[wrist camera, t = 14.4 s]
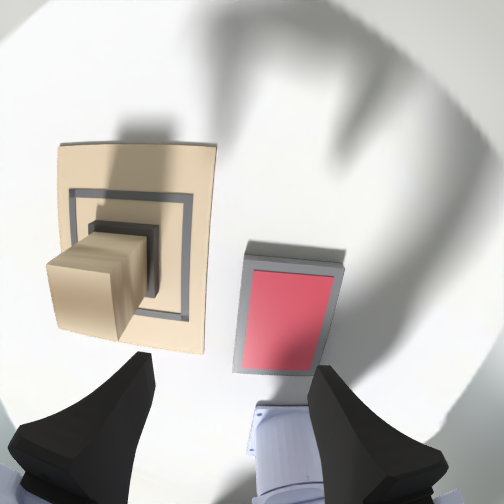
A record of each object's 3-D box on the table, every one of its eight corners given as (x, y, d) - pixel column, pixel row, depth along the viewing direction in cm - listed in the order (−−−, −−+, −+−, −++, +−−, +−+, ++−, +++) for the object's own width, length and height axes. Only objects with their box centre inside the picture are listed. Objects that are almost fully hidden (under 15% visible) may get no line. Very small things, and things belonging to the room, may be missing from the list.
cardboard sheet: (203, 353, 23) (203, 355, 23) (76, 331, 23) (74, 333, 22) (216, 147, 18) (215, 147, 18) (59, 146, 17) (57, 146, 17)
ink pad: (313, 368, 24) (315, 376, 23) (232, 364, 24) (232, 373, 23) (341, 263, 21) (345, 268, 20) (244, 254, 20) (244, 259, 19)
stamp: (159, 290, 21) (127, 350, 14) (99, 282, 21) (53, 333, 14) (158, 225, 19) (118, 264, 13) (95, 219, 19) (37, 254, 12)
